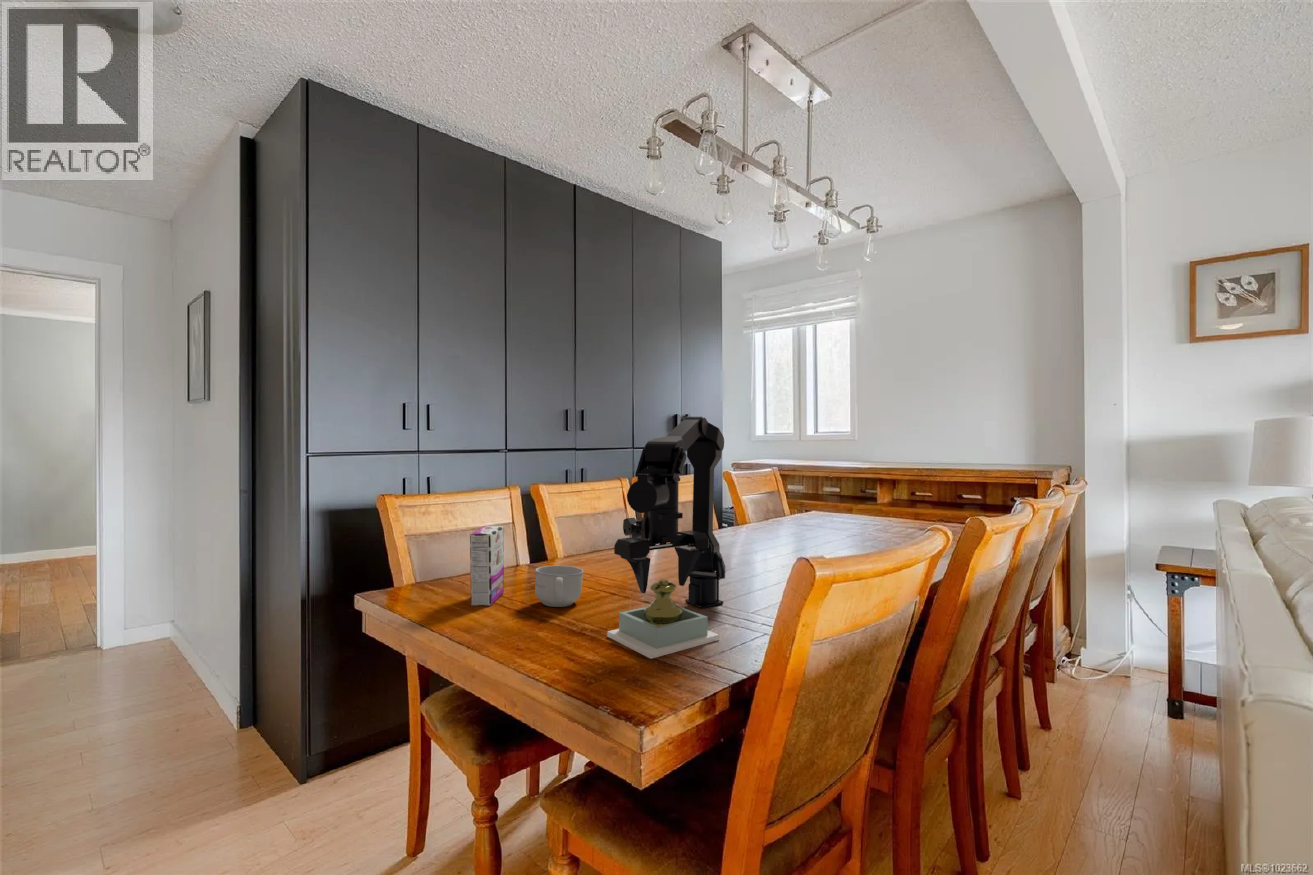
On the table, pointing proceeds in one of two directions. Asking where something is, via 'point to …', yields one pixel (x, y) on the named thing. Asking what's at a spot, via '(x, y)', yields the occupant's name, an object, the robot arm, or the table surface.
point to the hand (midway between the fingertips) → (662, 589)
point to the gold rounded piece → (663, 605)
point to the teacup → (558, 585)
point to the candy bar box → (486, 565)
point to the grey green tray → (661, 633)
